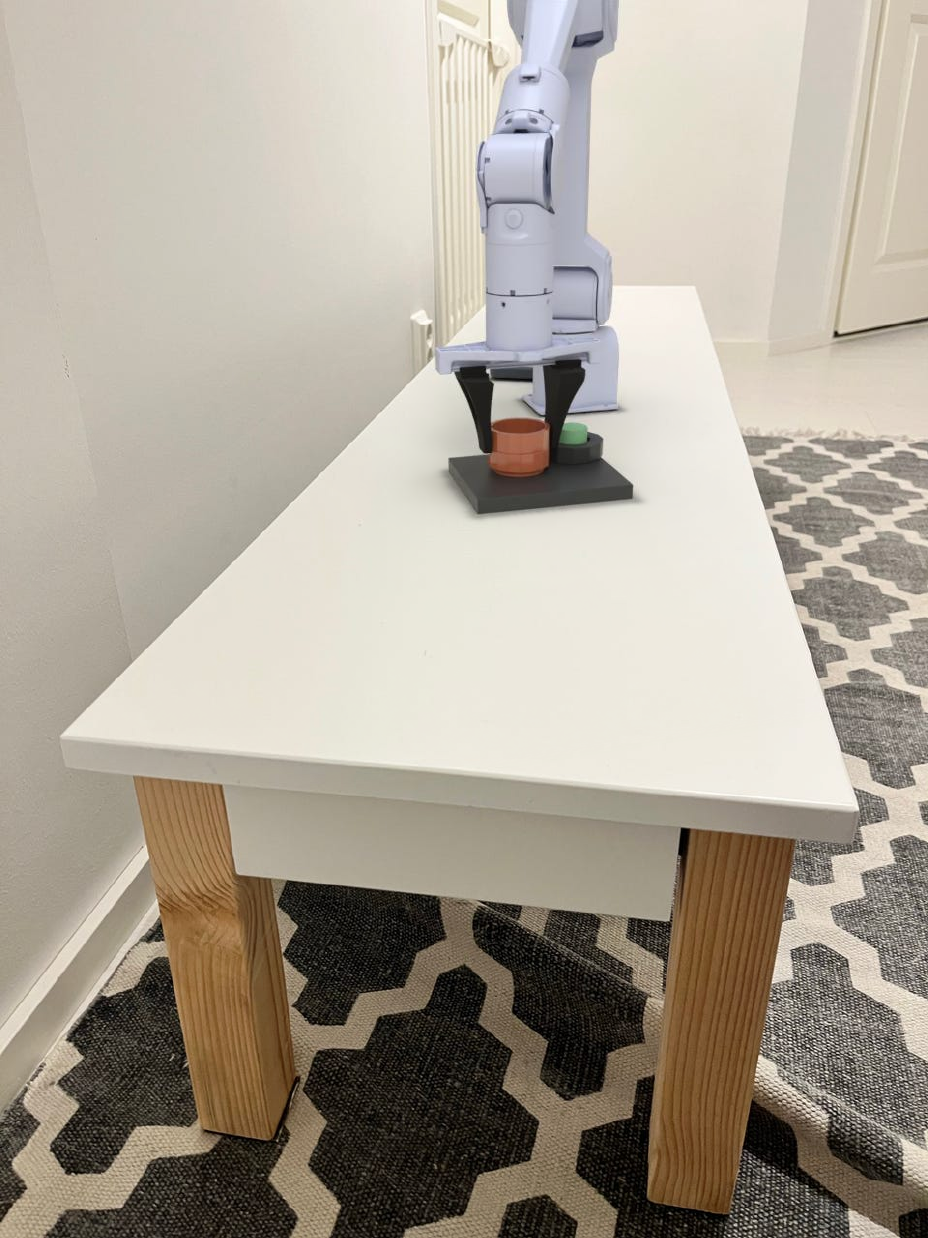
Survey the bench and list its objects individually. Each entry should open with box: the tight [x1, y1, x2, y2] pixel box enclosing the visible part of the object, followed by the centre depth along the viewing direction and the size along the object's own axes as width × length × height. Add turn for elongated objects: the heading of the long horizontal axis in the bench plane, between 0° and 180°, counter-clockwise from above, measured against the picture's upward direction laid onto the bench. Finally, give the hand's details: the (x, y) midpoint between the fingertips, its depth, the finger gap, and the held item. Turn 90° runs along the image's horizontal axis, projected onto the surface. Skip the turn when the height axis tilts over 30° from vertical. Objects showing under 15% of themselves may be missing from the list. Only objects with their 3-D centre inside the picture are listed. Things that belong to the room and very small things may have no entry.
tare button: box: [559, 422, 588, 444], centre depth 92 cm, size 3×3×2 cm
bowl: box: [486, 416, 550, 477], centre depth 88 cm, size 6×6×4 cm
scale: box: [447, 431, 634, 515], centre depth 89 cm, size 14×12×3 cm
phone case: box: [489, 366, 533, 380], centre depth 131 cm, size 9×2×16 cm
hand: (518, 447), depth 88 cm, fingers closed on bowl, 5 cm apart
